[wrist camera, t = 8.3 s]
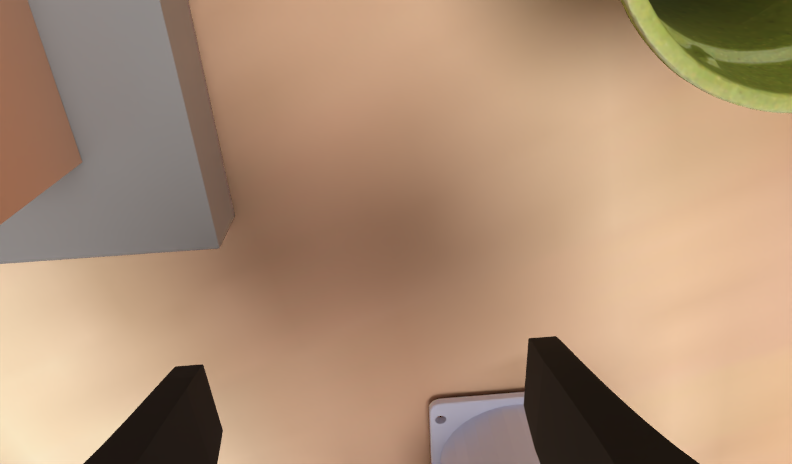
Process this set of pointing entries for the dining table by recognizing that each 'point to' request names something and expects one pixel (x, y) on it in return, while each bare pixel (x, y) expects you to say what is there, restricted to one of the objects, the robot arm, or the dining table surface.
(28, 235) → the slate plinth
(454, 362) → the dining table surface
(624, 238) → the dining table surface
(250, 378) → the dining table surface
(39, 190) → the terracotta cube
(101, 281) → the dining table surface
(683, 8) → the plant pot
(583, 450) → the robot arm
